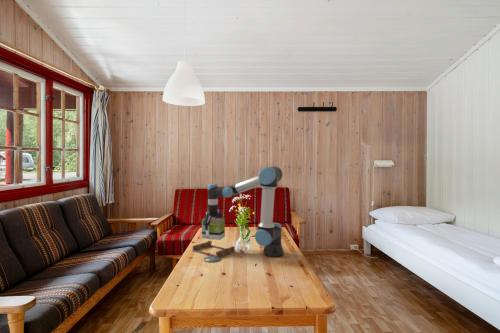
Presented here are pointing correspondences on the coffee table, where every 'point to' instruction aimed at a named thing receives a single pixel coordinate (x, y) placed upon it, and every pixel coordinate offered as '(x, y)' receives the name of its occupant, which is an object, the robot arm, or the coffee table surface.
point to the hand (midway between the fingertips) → (213, 232)
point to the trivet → (212, 259)
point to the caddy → (208, 244)
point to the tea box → (214, 229)
